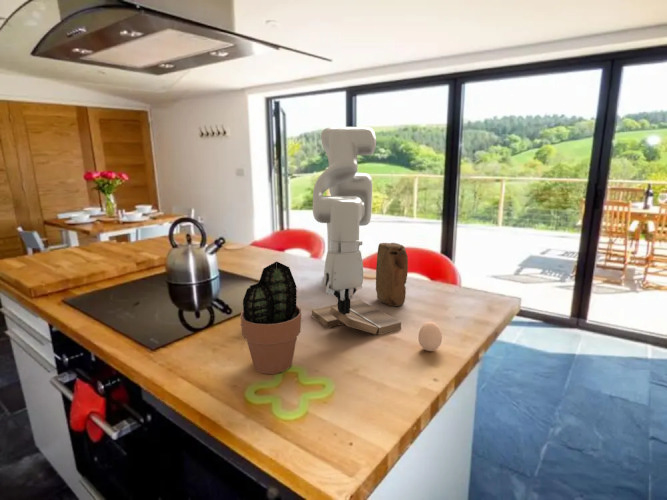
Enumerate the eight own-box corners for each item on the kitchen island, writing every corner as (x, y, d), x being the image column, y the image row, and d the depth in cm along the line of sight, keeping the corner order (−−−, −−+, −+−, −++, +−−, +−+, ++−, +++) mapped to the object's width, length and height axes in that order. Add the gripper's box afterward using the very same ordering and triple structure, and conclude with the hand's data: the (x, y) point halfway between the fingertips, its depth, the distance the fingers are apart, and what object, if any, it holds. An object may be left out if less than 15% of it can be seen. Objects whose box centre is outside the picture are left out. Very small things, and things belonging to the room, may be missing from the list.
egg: (430, 358, 95) (432, 329, 93) (412, 348, 99) (414, 321, 97) (445, 351, 98) (447, 323, 96) (427, 342, 102) (429, 315, 101)
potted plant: (251, 350, 98) (246, 254, 92) (304, 350, 98) (303, 254, 92) (236, 379, 85) (229, 270, 79) (298, 381, 84) (296, 270, 79)
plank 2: (328, 312, 110) (331, 306, 110) (355, 321, 115) (357, 315, 115) (348, 326, 101) (351, 319, 101) (375, 334, 106) (378, 327, 106)
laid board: (339, 309, 125) (339, 303, 124) (359, 305, 128) (360, 299, 128) (379, 334, 107) (379, 327, 107) (400, 328, 111) (401, 321, 110)
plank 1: (311, 315, 120) (311, 309, 119) (339, 309, 124) (339, 303, 124) (327, 327, 111) (327, 321, 111) (356, 320, 116) (356, 314, 115)
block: (373, 298, 135) (375, 241, 131) (392, 295, 138) (394, 240, 133) (389, 308, 125) (391, 248, 121) (409, 305, 128) (412, 246, 124)
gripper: (360, 241, 109) (359, 303, 112) (312, 246, 101) (313, 313, 105) (376, 246, 102) (374, 311, 106) (326, 252, 95) (326, 322, 99)
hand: (343, 312), depth 106 cm, fingers closed
